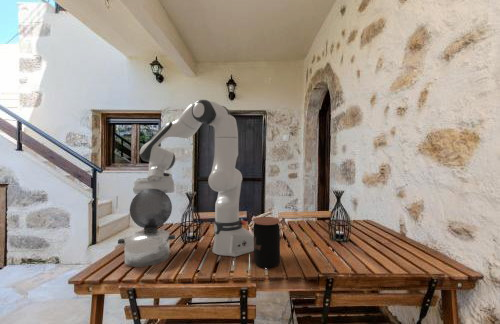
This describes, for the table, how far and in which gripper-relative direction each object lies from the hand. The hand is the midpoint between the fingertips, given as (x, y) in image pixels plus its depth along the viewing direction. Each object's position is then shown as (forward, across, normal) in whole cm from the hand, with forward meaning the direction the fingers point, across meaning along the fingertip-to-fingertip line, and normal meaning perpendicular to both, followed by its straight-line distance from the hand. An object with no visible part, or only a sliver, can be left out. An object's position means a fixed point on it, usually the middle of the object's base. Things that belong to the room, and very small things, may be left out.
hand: (153, 198), depth 125 cm
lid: (+8, 0, -2) cm, 8 cm away
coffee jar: (+43, +48, -9) cm, 65 cm away
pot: (+29, 0, +4) cm, 29 cm away
